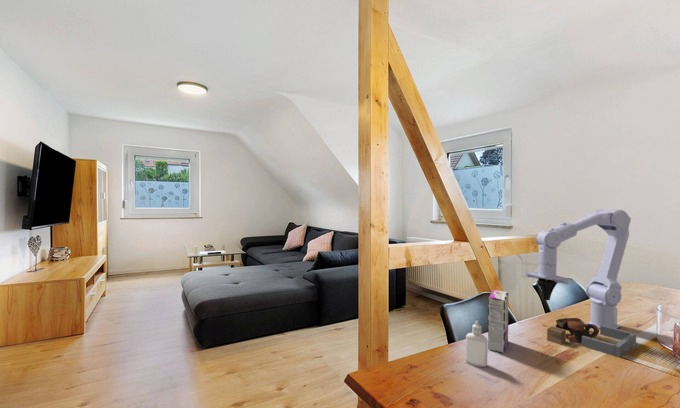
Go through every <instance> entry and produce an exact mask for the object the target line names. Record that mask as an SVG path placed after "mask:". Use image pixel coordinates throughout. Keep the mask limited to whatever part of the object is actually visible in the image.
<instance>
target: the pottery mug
mask: <svg viewBox="0 0 680 408" xmlns="http://www.w3.org/2000/svg"><path fill="white" fill-rule="evenodd" d="M581 320H582V319H581V318H579V317H565V318H558V319H555V322H556V325H555V326H554V327H557V328H560V329H564V330H566V331H568V333H569V334H570V335H568V336H567V338H568V340H569V343H570V344H582V336H586V337H590V338H593V339H595V338H596V337H597V336H598V335H599V333H600V329H599V328H598V327H597V326H595V325H594V324H586V323H584V324H583V323H582V322H581ZM591 329H593V332H591V333H590V330H591Z"/></svg>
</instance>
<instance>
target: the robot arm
mask: <svg viewBox="0 0 680 408" xmlns="http://www.w3.org/2000/svg"><path fill="white" fill-rule="evenodd" d="M631 220H632V218H631V217H630V216H629V214H628V213H627V212H626V211H625V210H623V209H617V210H616V209H615V210H614V209H613V210H612V209H597V210H596V211H595V210H594V211H592V212H590V213H589V214H588V215H585V216H583V217H582V218H579V219H577V220H576V221H574V222H572V223H570V222H565V221H564V222H560V223H559V225H557V226H555V227H550V228H548V230H542V231H540V232H538V234H537V236H536V237H535V238H534V240H535V243H536V244H537V249H538V266H537V267H538V268H537V269H538V271H537V272H534V271H526V272H525V278H532V279H537V281H536V282H537V285H538V286H539V289H540V291H541V294H542V297H543V301H550V300H551V296H552V293H553V291H554V289H555V288H556V286H557V284H558V283H559V284H564V285H571V281H572V280H571V278H568V277H564V276H560V275H557V265H558V264H557V263H558V262H557V261H558V258H557V257H558V256H557V254H558V247H560V245H561V244H562V242H565V241H567V240H569V239H571V238H574V237H576V236H577V233H578V232H579V231H583V230H584V229H587V228H590V227H593V226H598V227H599V228H601V229H602V230H603V231H604V232H605V233H606V234H607V236H608V239H607V242H606V246H605V249H604V251H603V252H604V253H603V256H602V259H601V263H600V267H599V269H598V270H599V271H598V274H597V275H595V276H593V277H591V279H590V281H589V283H588V284H587V285H586V288H585V292H586V295H587V296H588V297H589V300H590V320H589V321H588V322H587V323H585V324H594V325H595V326H597V327H598V329H600V326H601V325H603V326H607V327H611V328H615V329H619V328H620V327H621V325H620V324H618V308H617V306H618V304H619V303H620V302H621V300H622V286H621V284H620V283H619V282H618V280H617V279H618V275H619V272H620V268H621V264H622V262H623V257H624V254H625V251H626V247H627V243H628V240H629V236H630V230H629V228H630V225H631V224H630V223H631Z"/></svg>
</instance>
